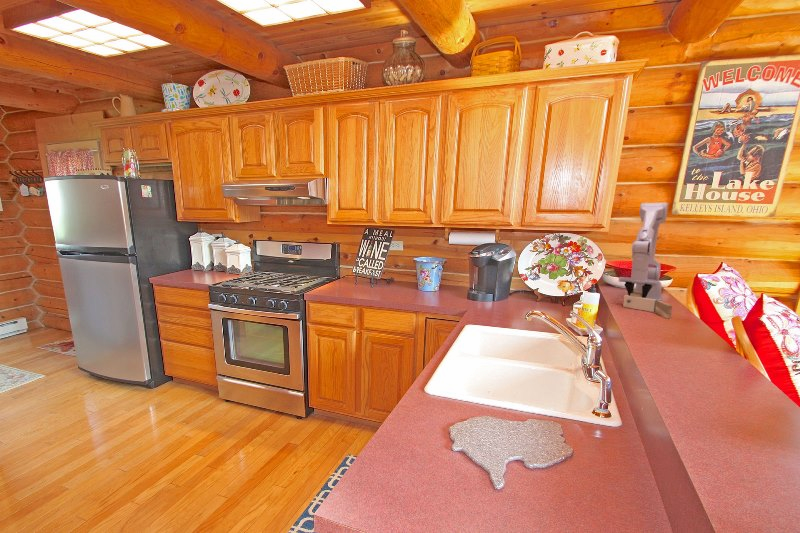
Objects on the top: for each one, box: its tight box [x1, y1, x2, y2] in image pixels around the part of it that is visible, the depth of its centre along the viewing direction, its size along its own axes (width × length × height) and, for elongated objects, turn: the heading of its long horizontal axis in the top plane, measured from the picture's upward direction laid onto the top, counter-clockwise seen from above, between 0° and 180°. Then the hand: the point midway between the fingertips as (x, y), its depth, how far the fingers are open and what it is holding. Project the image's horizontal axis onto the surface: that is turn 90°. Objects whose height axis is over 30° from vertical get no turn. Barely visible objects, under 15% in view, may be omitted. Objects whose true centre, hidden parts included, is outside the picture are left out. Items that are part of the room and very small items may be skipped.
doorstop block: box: [630, 292, 642, 298], centre depth 150 cm, size 4×4×4 cm
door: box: [622, 294, 659, 313], centre depth 146 cm, size 2×12×5 cm, turn 40°
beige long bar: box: [633, 289, 673, 319], centre depth 148 cm, size 2×28×5 cm, turn 174°
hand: (636, 300), depth 150 cm, fingers closed on doorstop block, 4 cm apart
